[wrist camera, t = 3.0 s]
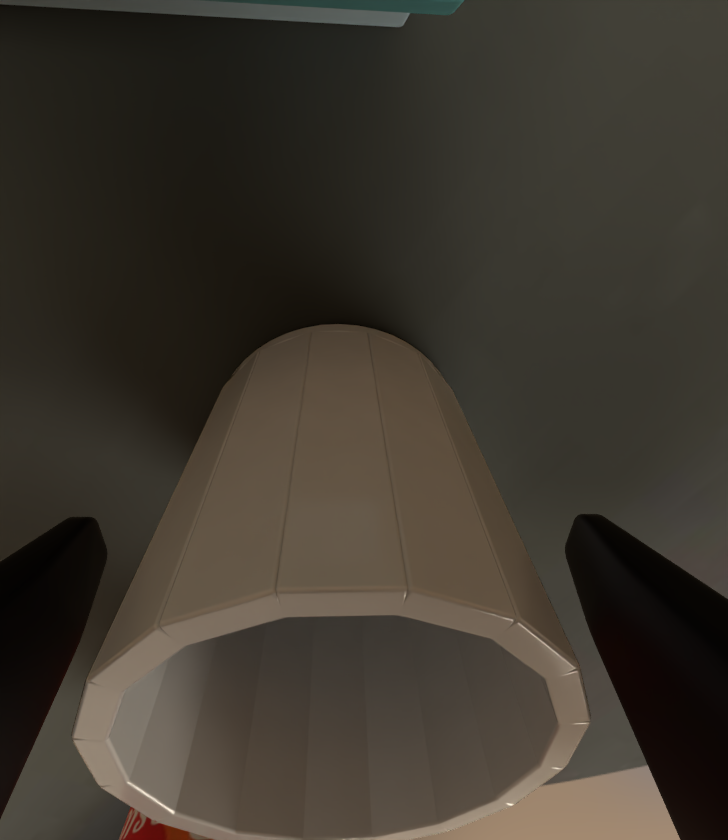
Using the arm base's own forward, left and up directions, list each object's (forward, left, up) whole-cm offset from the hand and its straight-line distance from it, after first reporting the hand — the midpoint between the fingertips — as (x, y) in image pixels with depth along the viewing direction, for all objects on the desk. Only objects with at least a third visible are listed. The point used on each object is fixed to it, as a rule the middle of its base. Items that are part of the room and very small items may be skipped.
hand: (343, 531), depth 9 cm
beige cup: (0, 0, -3) cm, 3 cm away
